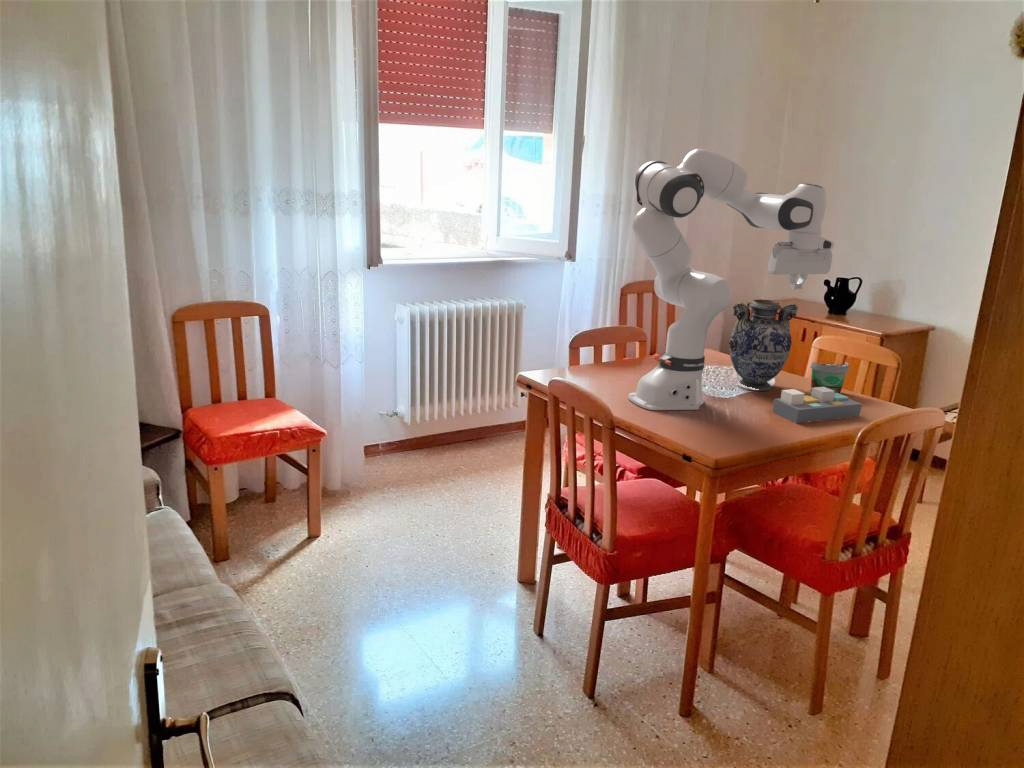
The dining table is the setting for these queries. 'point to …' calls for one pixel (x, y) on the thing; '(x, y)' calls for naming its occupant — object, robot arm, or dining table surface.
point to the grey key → (823, 394)
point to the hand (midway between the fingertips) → (795, 289)
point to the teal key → (839, 397)
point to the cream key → (792, 397)
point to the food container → (829, 375)
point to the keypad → (817, 410)
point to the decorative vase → (760, 341)
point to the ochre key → (810, 400)
